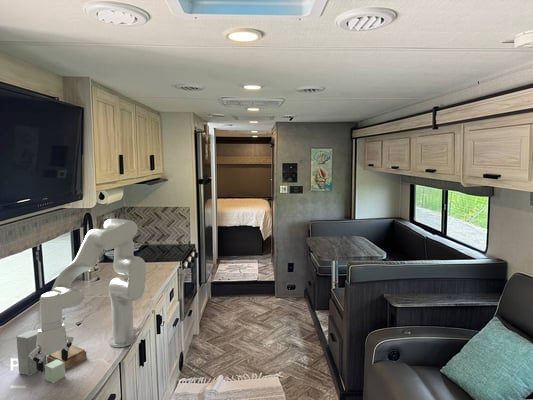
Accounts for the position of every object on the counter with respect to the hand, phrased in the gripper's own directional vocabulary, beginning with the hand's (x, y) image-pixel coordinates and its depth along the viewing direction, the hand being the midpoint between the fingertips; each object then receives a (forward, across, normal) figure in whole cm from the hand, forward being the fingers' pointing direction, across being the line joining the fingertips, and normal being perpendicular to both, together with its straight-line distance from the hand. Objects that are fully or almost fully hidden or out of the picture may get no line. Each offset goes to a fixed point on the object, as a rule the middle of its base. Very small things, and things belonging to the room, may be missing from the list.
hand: (52, 365), depth 147 cm
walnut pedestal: (+5, -11, -8) cm, 14 cm away
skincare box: (+6, 0, -14) cm, 15 cm away
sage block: (+6, -1, 0) cm, 6 cm away
